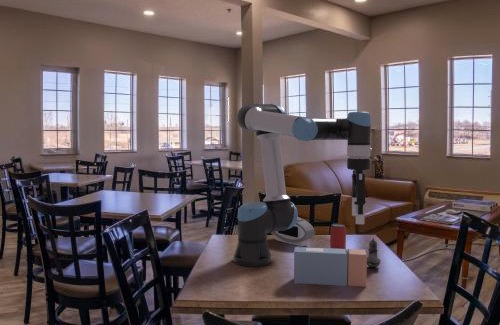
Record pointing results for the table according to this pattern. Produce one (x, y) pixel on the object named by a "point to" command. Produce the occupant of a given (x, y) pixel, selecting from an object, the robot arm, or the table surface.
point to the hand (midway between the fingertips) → (357, 219)
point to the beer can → (338, 236)
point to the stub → (356, 267)
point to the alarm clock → (296, 233)
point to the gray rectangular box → (320, 266)
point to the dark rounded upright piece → (373, 256)
